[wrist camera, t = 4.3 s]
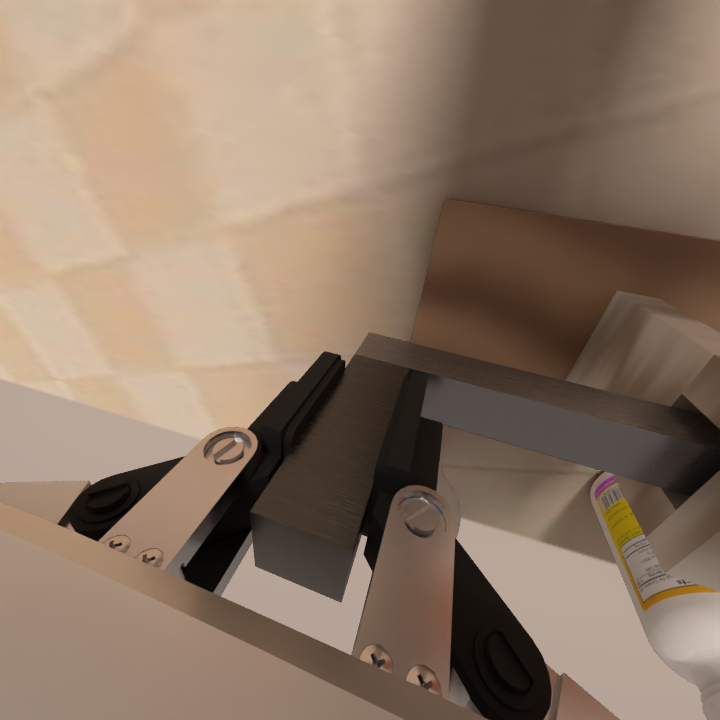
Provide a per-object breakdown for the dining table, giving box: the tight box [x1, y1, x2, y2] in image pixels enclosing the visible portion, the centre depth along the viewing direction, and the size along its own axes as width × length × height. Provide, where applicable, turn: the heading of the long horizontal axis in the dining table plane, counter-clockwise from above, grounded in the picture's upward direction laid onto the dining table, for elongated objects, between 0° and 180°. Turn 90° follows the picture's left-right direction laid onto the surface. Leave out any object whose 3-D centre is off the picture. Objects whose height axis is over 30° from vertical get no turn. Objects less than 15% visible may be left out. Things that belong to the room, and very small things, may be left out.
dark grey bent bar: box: [250, 333, 720, 602], centre depth 8 cm, size 2×16×8 cm, turn 82°
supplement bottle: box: [590, 472, 720, 720], centre depth 17 cm, size 7×7×13 cm
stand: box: [410, 199, 720, 592], centre depth 13 cm, size 12×20×13 cm, turn 82°
